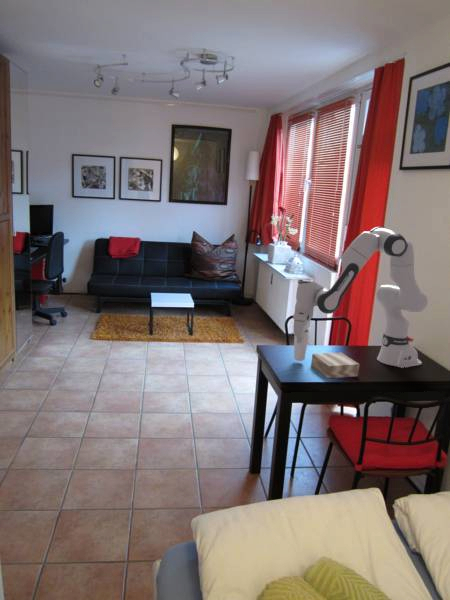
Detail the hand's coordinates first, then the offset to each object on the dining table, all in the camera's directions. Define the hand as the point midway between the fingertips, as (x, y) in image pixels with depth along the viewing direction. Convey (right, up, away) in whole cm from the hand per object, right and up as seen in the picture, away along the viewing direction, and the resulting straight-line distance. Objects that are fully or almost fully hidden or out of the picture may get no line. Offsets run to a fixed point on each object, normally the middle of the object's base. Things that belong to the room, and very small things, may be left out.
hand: (301, 340), depth 246 cm
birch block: (+15, -14, -4) cm, 21 cm away
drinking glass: (-1, -10, +2) cm, 10 cm away
